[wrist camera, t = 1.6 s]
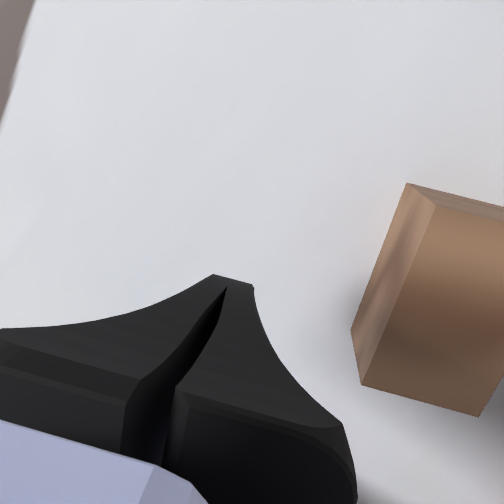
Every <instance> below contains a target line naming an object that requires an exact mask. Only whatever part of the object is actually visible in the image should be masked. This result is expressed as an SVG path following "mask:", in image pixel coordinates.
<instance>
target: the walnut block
mask: <svg viewBox="0 0 504 504" xmlns="http://www.w3.org/2000/svg"><path fill="white" fill-rule="evenodd" d="M351 335H352V340H353V346H354V351H355V356H356V361H357V366H358V372H359V377H360V382H361V385H363V386H367V387H370V388H374V389H378V390H381V391H385V392H389V393H392V394H396V395H399V396H403V397H407V398H410V399H414V400H418V401H421V402H425V403H429V404H432V405H436V406H439V407H443V408H447V409H450V410H454V411H458V412H461V413H465V414H469V415H472V416H476V417H479V416H480V414H481V412H482V411H483V409H484V407H485V406H486V404H487V402H488V401H489V399H490V397H491V396H492V394H493V392H494V390H495V389H496V387H497V385H498V384H499V382H500V380H501V379H502V377H503V375H504V207H502V206H498V205H494V204H490V203H486V202H482V201H478V200H474V199H470V198H466V197H462V196H458V195H454V194H450V193H446V192H442V191H438V190H434V189H430V188H426V187H422V186H418V185H414V184H410V183H406V185H405V188H404V191H403V193H402V196H401V198H400V201H399V204H398V206H397V209H396V212H395V214H394V217H393V219H392V222H391V225H390V227H389V230H388V233H387V235H386V238H385V240H384V243H383V246H382V248H381V251H380V254H379V256H378V259H377V261H376V264H375V267H374V269H373V272H372V275H371V277H370V280H369V282H368V285H367V288H366V290H365V293H364V296H363V298H362V301H361V304H360V306H359V309H358V311H357V314H356V317H355V319H354V322H353V325H352V327H351Z"/></svg>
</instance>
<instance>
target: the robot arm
mask: <svg viewBox="0 0 504 504" xmlns="http://www.w3.org/2000/svg"><path fill="white" fill-rule="evenodd" d="M357 499H358V495H357V482H356V474H355V468H354V463H353V459H352V455H351V451H350V448H349V444H348V440H347V437H346V433H345V430H344V427H343V424H342V423H341V422H340V421H339V420H338V419H337V418H335V417H334V416H333V415H332V414H331V413H329V412H328V411H327V410H326V409H325V408H324V407H322V406H321V405H320V404H319V403H318V402H316V401H315V400H314V399H313V398H312V397H311V396H310V395H309V394H308V393H307V392H306V391H305V390H304V389H303V388H302V387H301V385H300V384H299V383H298V382H297V381H296V380H295V379H294V378H293V376H292V375H291V374H290V373H289V371H288V370H287V369H286V367H285V366H284V365H283V363H282V362H281V361H280V359H279V358H278V356H277V354H276V353H275V351H274V349H273V347H272V345H271V344H270V342H269V339H268V337H267V335H266V333H265V330H264V328H263V326H262V323H261V320H260V317H259V314H258V311H257V307H256V303H255V297H254V287H253V286H252V284H249V283H245V282H241V281H238V280H234V279H230V278H226V277H222V276H219V275H215V274H212V275H211V276H209V277H207V278H205V279H203V280H202V281H200V282H198V283H196V284H195V285H193V286H191V287H190V288H188V289H186V290H184V291H182V292H180V293H178V294H176V295H174V296H172V297H170V298H167V299H165V300H163V301H161V302H159V303H156V304H154V305H151V306H148V307H146V308H143V309H140V310H136V311H133V312H130V313H126V314H123V315H118V316H114V317H109V318H105V319H100V320H96V321H90V322H84V323H77V324H69V325H60V326H49V327H29V328H2V329H0V504H356V503H357Z"/></svg>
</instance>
